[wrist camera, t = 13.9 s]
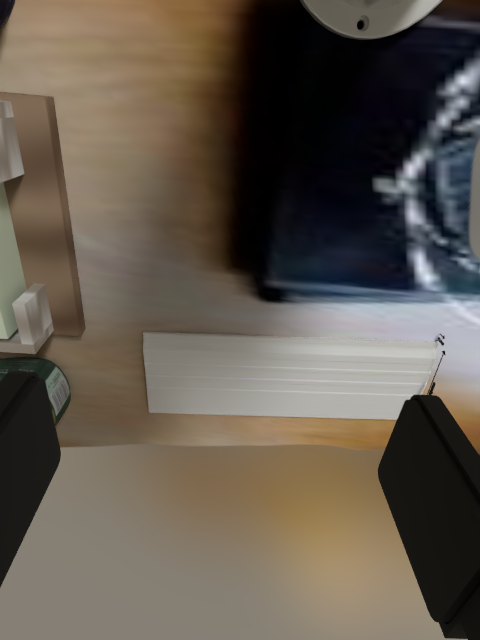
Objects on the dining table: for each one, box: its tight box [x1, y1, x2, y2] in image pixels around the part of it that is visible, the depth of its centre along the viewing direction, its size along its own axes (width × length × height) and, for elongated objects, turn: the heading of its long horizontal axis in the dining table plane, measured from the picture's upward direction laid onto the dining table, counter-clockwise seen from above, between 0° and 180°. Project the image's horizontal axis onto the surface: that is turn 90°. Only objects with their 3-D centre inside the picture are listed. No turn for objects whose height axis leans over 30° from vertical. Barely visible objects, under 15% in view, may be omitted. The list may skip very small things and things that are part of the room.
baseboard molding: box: [143, 331, 445, 420], centre depth 42 cm, size 31×3×12 cm
